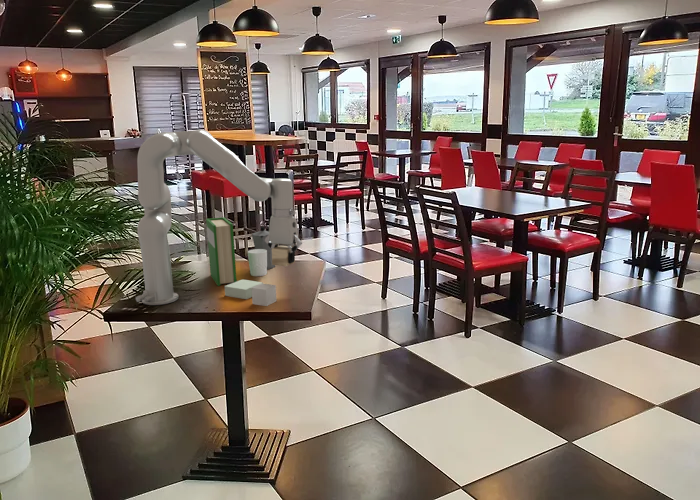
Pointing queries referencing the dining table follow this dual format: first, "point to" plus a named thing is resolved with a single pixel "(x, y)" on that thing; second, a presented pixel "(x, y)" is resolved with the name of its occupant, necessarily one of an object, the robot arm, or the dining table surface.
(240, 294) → the base block
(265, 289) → the grey cube
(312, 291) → the dining table surface
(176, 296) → the robot arm
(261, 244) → the coffeepot
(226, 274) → the hardback book
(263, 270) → the white cup
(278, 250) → the maple cube
